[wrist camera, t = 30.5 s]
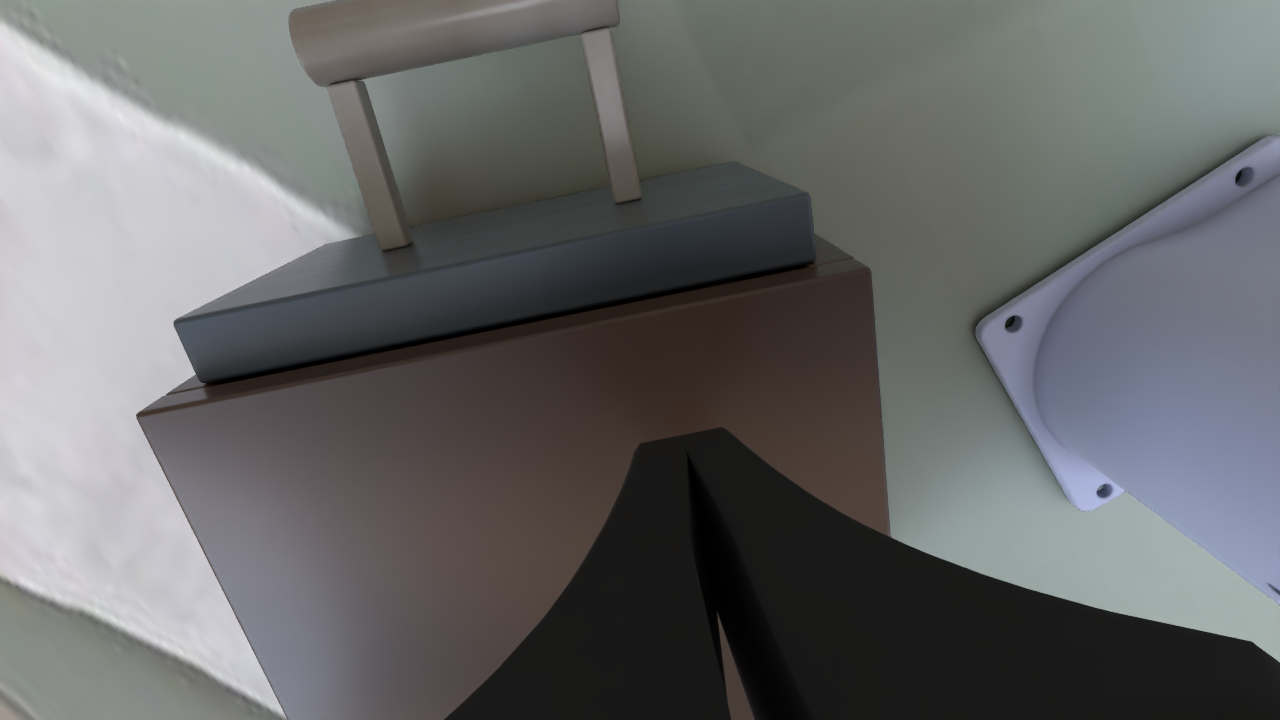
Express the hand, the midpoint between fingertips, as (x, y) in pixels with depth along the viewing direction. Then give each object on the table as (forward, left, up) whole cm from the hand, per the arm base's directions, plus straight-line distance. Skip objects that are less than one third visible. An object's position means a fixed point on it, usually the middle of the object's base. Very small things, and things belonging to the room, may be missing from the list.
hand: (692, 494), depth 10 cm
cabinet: (+4, +3, -10) cm, 12 cm away
